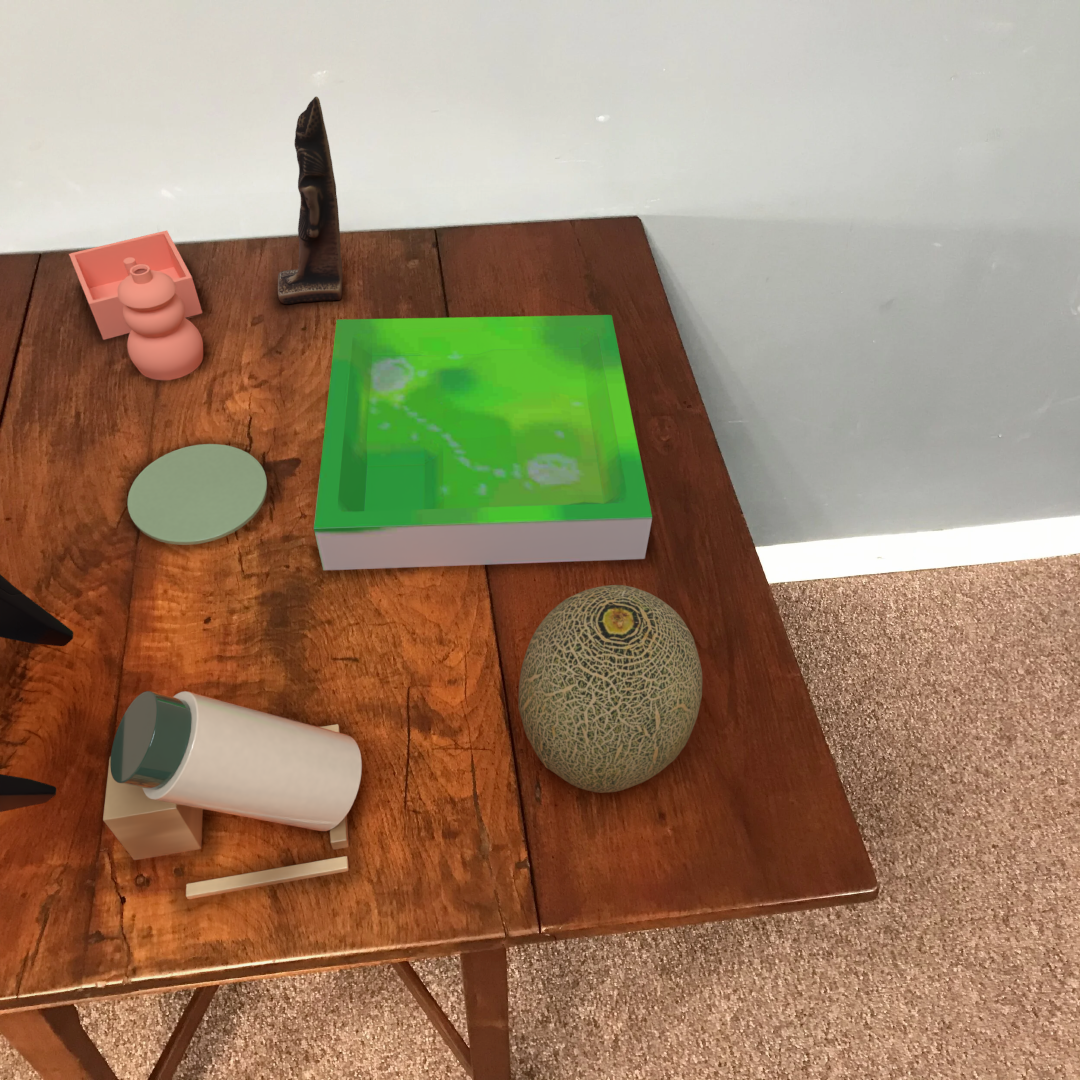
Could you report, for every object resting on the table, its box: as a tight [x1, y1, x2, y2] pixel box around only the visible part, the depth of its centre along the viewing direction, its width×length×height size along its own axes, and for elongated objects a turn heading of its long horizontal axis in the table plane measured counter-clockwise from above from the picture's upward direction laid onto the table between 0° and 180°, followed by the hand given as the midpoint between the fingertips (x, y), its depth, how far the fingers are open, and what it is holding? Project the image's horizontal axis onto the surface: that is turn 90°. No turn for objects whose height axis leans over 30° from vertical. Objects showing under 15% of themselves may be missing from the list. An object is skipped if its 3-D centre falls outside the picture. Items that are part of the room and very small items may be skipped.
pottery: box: [68, 230, 204, 381], centre depth 87 cm, size 18×10×10 cm, turn 29°
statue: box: [277, 96, 344, 305], centre depth 88 cm, size 4×7×20 cm, turn 100°
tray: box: [313, 314, 653, 571], centre depth 79 cm, size 25×25×5 cm
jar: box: [110, 690, 363, 832], centre depth 55 cm, size 13×6×13 cm, turn 101°
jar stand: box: [102, 723, 350, 900], centre depth 57 cm, size 13×10×6 cm
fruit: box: [518, 584, 703, 794], centre depth 58 cm, size 11×11×15 cm
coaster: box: [126, 443, 268, 546], centre depth 77 cm, size 11×11×1 cm
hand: (61, 712), depth 49 cm, fingers open, 9 cm apart
